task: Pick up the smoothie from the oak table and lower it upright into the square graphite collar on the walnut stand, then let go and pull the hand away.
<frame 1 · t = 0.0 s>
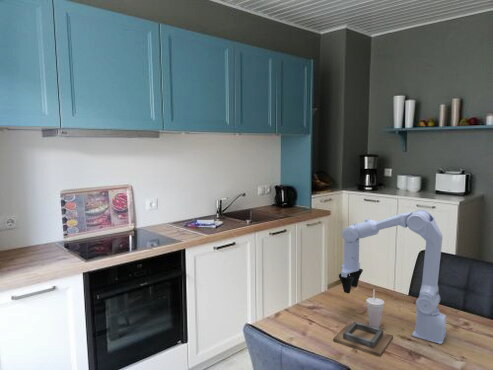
hand: (350, 289, 147), 10 cm above the table, tool pointing down, fingers open, 7 cm apart
bottle stand: (363, 339, 129), on the table
smoothie: (374, 326, 138), on the table
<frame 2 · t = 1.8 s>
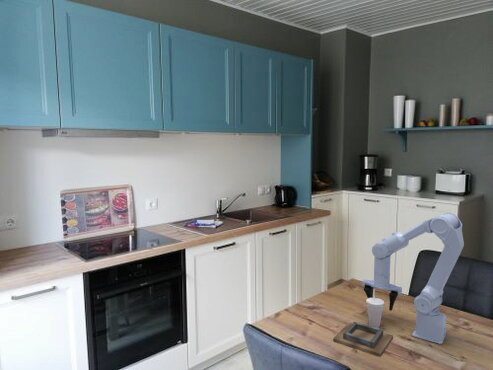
hand: (380, 307, 143), 5 cm above the table, tool pointing down, fingers open, 7 cm apart
nothing on the table moved.
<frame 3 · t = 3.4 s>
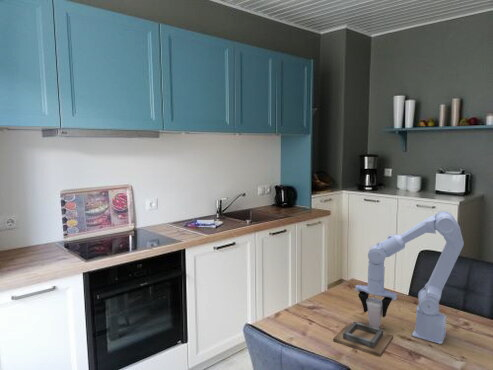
hand: (374, 313, 138), 5 cm above the table, tool pointing down, fingers closed on smoothie, 6 cm apart
smoothie: (374, 326, 138), on the table, touching gripper
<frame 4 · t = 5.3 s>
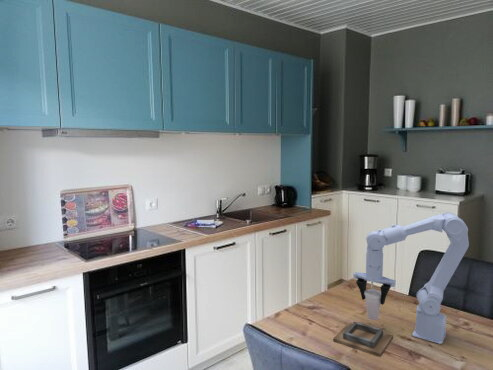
hand: (373, 301, 135), 10 cm above the table, tool pointing down, fingers closed on smoothie, 6 cm apart
smoothie: (372, 318, 136), point 4 cm above the table, touching gripper
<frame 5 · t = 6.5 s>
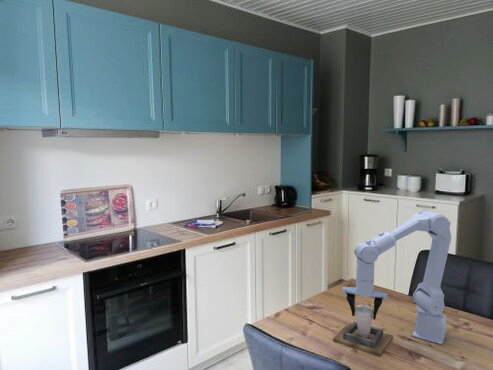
hand: (363, 316, 128), 8 cm above the table, tool pointing down, fingers closed on smoothie, 6 cm apart
smoothie: (364, 335, 129), point 1 cm above the table, touching gripper
when the fingers open (7 cm above the table, at t = 7.5 s): smoothie stays where it is, resting on bottle stand.
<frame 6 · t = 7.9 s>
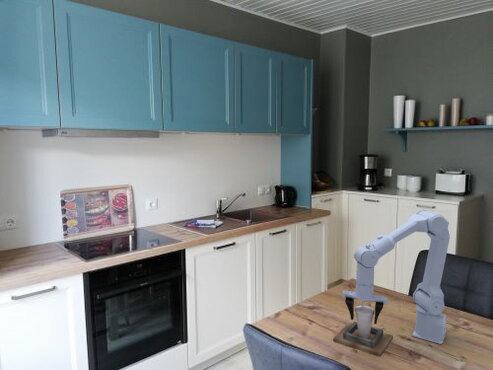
hand: (363, 320, 128), 7 cm above the table, tool pointing down, fingers open, 7 cm apart
smoothie: (363, 336, 129), point 1 cm above the table, touching bottle stand
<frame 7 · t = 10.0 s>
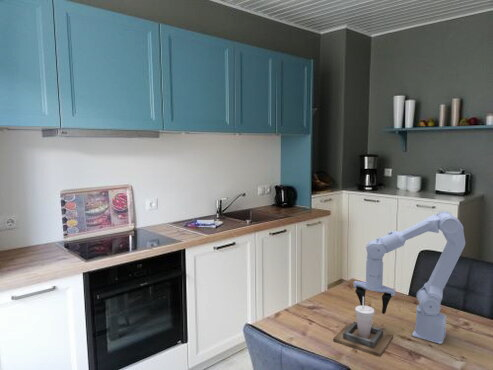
hand: (373, 310, 135), 7 cm above the table, tool pointing down, fingers open, 7 cm apart
nothing on the table moved.
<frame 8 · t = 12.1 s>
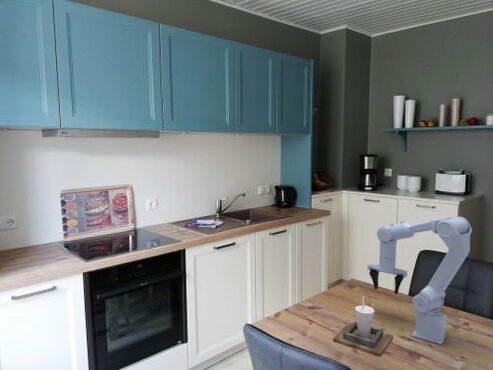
hand: (386, 290, 144), 10 cm above the table, tool pointing down, fingers open, 7 cm apart
nothing on the table moved.
at the end: smoothie 0.9 cm off-centre on the bottle stand, point 0.8 cm above the bottle stand's base; smoothie tilted 0°; the gripper is holding nothing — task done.
